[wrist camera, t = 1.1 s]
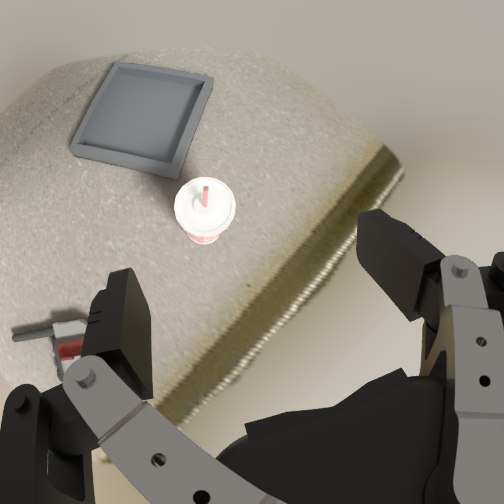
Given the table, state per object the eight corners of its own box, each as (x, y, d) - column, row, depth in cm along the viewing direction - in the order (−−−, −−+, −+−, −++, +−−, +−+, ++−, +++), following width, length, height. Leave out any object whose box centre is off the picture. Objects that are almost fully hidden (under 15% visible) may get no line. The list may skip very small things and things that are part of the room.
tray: (74, 156, 38) (68, 149, 36) (118, 71, 41) (115, 61, 38) (177, 180, 40) (176, 173, 37) (212, 87, 43) (213, 77, 40)
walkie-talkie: (141, 305, 37) (15, 330, 34) (134, 306, 33) (-1, 332, 29) (159, 373, 36) (31, 390, 33) (154, 381, 32) (16, 398, 28)
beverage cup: (180, 251, 39) (169, 226, 25) (178, 204, 39) (169, 157, 26) (229, 248, 40) (245, 222, 26) (226, 201, 40) (239, 154, 27)
